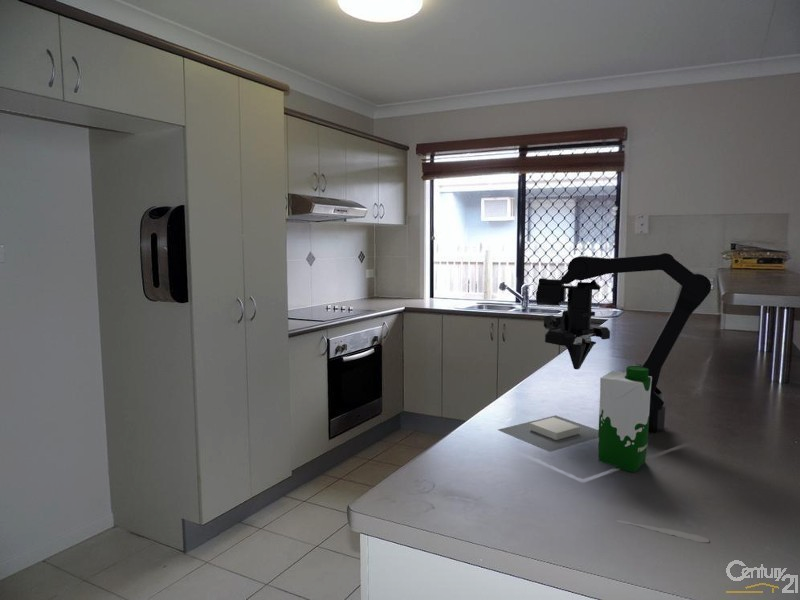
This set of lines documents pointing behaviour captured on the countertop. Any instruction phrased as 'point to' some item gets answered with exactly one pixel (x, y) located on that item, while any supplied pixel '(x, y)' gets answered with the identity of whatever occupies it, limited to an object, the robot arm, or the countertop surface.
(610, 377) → the milk carton
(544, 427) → the tile
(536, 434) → the mat
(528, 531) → the countertop surface
